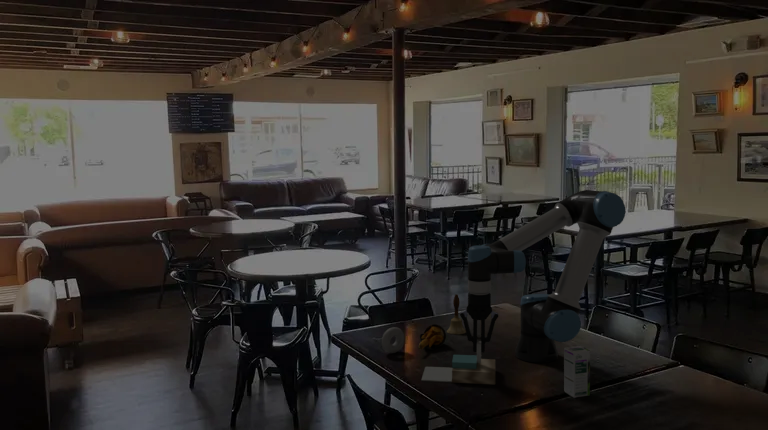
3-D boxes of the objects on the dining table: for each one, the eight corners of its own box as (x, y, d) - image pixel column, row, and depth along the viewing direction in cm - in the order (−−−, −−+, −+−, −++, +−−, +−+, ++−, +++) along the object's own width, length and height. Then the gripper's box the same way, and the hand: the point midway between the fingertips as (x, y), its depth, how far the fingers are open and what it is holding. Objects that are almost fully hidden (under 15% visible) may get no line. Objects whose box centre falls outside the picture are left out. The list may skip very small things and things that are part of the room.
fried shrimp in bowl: (452, 331, 251) (444, 329, 234) (439, 356, 250) (431, 356, 233) (431, 320, 254) (422, 317, 237) (419, 346, 253) (409, 344, 236)
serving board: (495, 370, 219) (495, 359, 218) (495, 384, 206) (495, 372, 205) (454, 368, 221) (454, 357, 221) (452, 382, 208) (452, 370, 208)
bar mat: (454, 368, 221) (454, 367, 221) (451, 382, 208) (451, 381, 208) (425, 367, 223) (425, 366, 223) (421, 380, 210) (421, 379, 210)
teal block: (476, 361, 217) (476, 355, 217) (476, 369, 209) (476, 363, 209) (453, 360, 218) (453, 354, 218) (452, 368, 210) (452, 362, 210)
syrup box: (573, 398, 194) (574, 352, 192) (563, 391, 199) (563, 346, 198) (590, 396, 195) (591, 350, 194) (579, 389, 201) (579, 344, 199)
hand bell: (443, 330, 269) (443, 293, 267) (461, 328, 271) (461, 291, 270) (451, 335, 261) (451, 297, 259) (469, 333, 263) (469, 296, 262)
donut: (385, 356, 235) (384, 330, 234) (379, 354, 238) (379, 328, 237) (406, 351, 241) (406, 326, 240) (401, 349, 244) (400, 324, 243)
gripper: (499, 290, 213) (498, 358, 215) (460, 289, 215) (459, 356, 217) (499, 295, 205) (498, 366, 208) (459, 294, 208) (458, 364, 210)
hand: (478, 361), depth 213 cm, fingers closed
